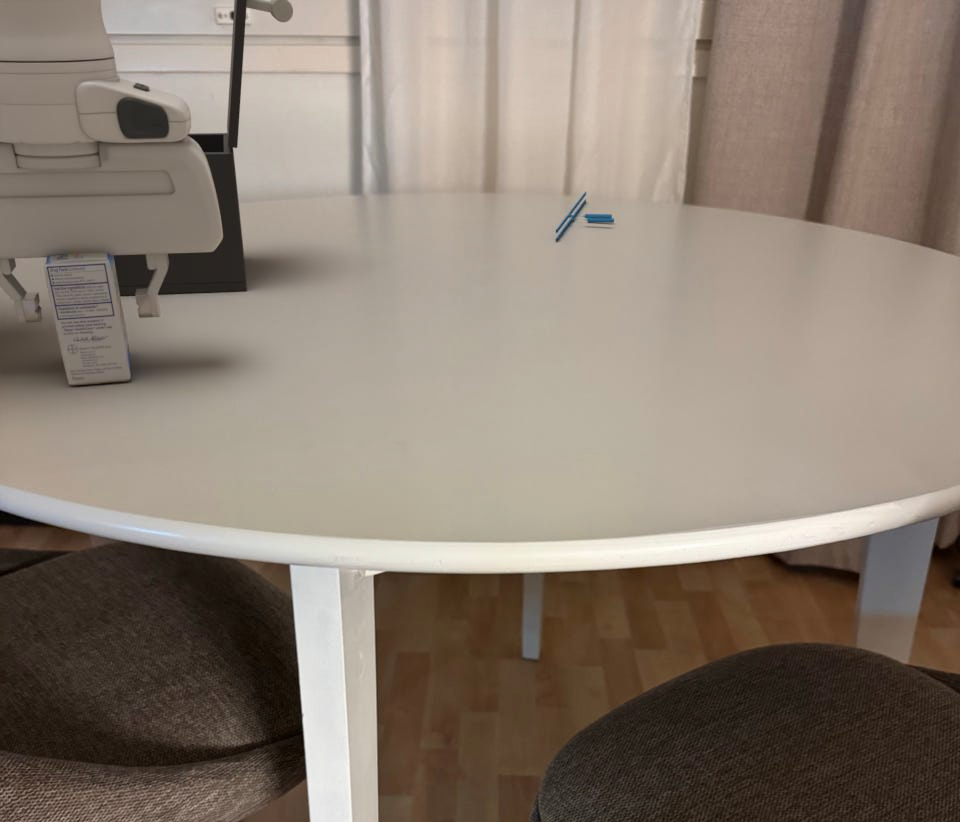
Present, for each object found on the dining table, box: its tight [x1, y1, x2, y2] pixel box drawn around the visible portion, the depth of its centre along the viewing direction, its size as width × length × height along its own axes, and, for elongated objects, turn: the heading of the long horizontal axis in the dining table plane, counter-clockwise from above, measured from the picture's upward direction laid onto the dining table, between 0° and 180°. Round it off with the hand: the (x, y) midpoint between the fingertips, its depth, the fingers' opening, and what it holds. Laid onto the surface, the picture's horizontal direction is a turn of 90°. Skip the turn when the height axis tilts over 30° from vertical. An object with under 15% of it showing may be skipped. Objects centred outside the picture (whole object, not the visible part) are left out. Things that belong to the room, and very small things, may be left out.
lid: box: [226, 0, 294, 149], centre depth 95 cm, size 14×14×5 cm
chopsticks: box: [555, 191, 615, 243], centre depth 128 cm, size 1×25×5 cm
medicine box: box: [43, 253, 132, 386], centre depth 77 cm, size 8×4×9 cm, turn 17°
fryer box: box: [113, 132, 248, 297], centre depth 100 cm, size 13×14×12 cm
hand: (91, 318), depth 78 cm, fingers open, 7 cm apart
